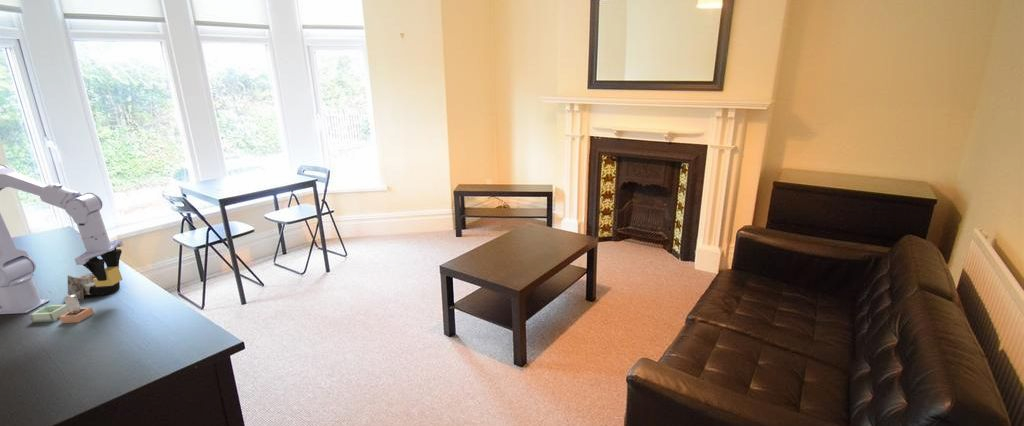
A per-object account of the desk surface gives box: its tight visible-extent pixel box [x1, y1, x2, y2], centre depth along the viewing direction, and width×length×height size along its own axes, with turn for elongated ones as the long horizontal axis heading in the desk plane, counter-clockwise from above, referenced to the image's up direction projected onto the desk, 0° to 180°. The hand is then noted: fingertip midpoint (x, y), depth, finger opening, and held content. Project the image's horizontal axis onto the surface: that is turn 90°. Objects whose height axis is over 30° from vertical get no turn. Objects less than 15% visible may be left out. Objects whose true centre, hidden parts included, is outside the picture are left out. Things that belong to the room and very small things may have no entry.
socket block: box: [59, 306, 95, 324], centre depth 137 cm, size 5×5×2 cm
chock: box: [93, 266, 124, 287], centre depth 143 cm, size 5×4×4 cm
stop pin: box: [63, 294, 82, 315], centre depth 136 cm, size 3×3×7 cm
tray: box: [29, 303, 69, 323], centre depth 138 cm, size 6×5×2 cm
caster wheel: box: [67, 272, 121, 301], centre depth 152 cm, size 7×11×10 cm
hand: (108, 276), depth 143 cm, fingers closed on chock, 4 cm apart
